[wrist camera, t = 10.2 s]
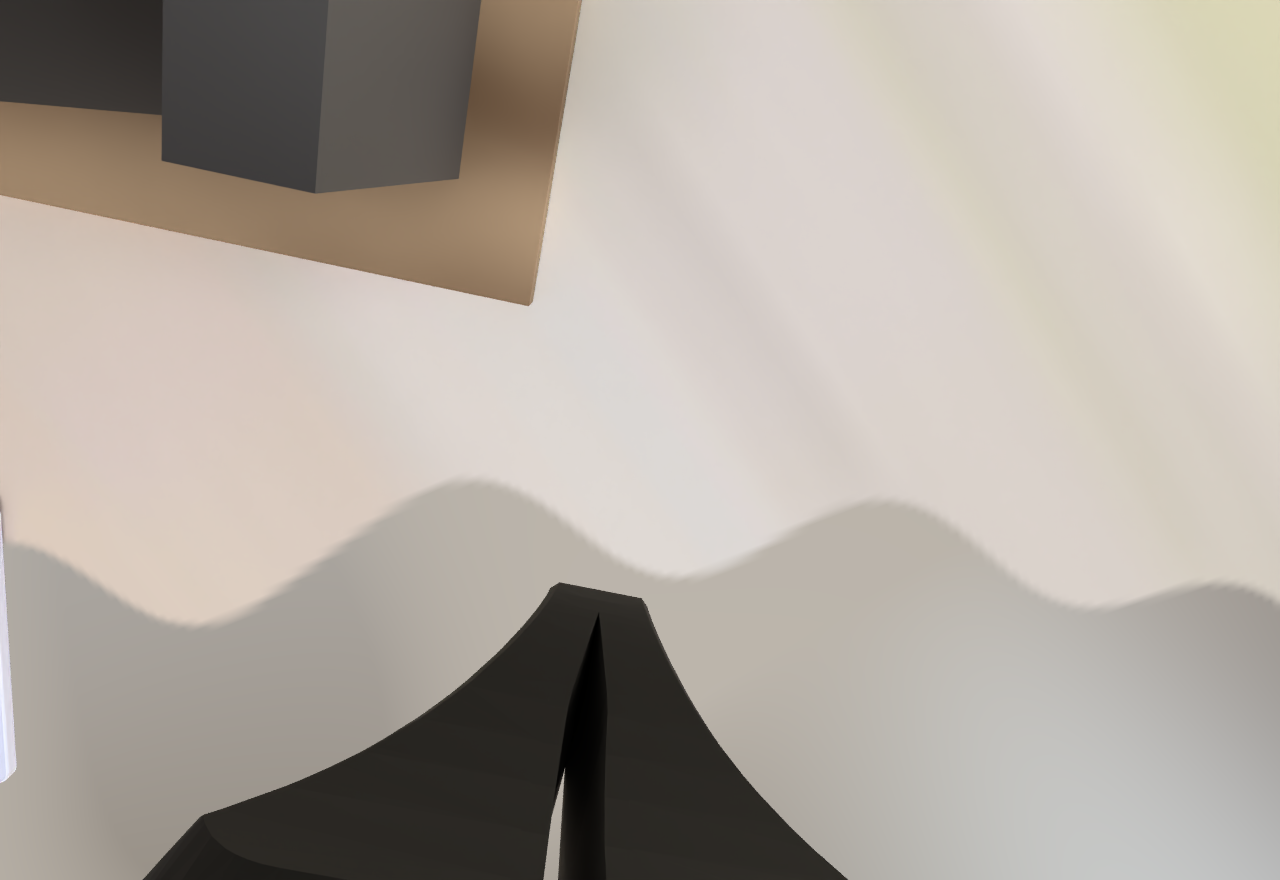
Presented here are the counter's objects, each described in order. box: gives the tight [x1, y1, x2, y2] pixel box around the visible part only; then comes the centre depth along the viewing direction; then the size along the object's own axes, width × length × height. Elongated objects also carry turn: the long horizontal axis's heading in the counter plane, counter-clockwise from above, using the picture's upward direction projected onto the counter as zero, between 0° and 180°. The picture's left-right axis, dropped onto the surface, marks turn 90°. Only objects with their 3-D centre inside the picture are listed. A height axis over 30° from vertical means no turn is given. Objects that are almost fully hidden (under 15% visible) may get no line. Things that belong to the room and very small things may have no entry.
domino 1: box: [161, 0, 481, 194], centre depth 13 cm, size 2×5×8 cm, turn 168°
